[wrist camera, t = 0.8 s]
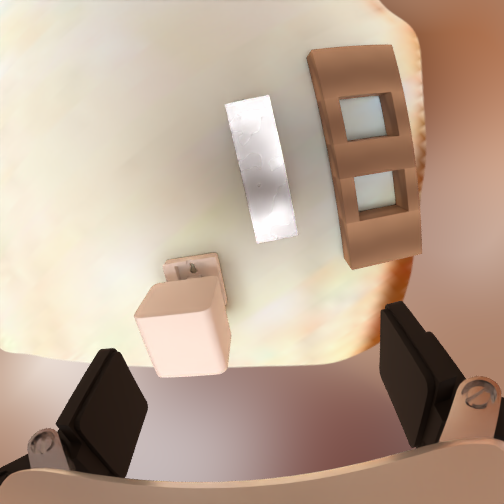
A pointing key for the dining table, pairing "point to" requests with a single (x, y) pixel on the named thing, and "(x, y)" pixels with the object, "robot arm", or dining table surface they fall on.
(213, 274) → the security camera
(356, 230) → the wooden frame
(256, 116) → the grey rectangular block
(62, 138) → the dining table surface
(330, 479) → the robot arm
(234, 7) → the dining table surface
